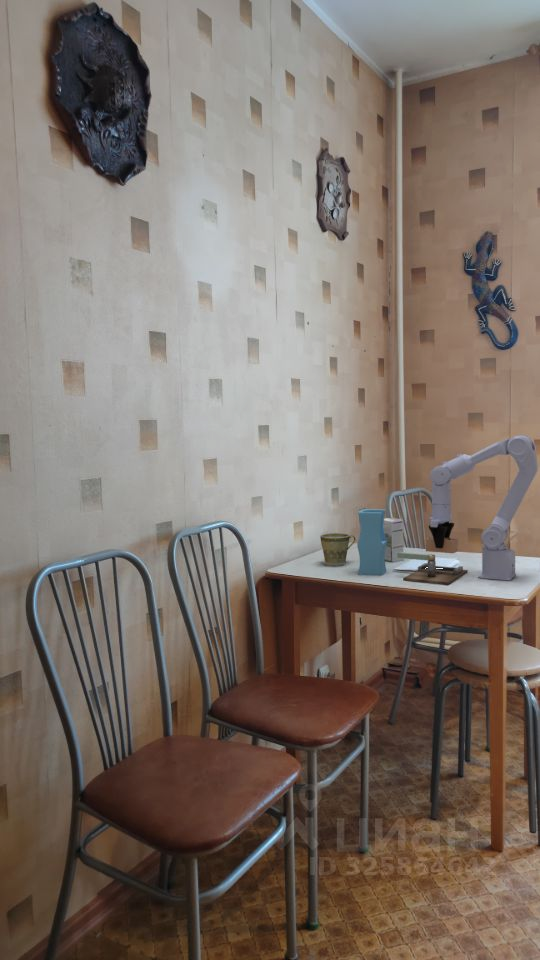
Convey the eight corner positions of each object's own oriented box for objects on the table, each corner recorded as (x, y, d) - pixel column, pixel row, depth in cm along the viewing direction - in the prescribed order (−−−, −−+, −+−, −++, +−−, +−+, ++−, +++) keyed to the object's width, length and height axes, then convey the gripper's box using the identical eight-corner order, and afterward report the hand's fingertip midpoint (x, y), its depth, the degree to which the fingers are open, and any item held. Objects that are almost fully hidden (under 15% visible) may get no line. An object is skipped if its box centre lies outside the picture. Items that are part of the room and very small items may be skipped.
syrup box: (404, 560, 247) (403, 518, 245) (391, 562, 243) (391, 520, 242) (392, 557, 251) (392, 517, 250) (380, 560, 248) (379, 518, 247)
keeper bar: (436, 560, 217) (436, 554, 217) (433, 561, 215) (433, 556, 215) (399, 556, 223) (399, 551, 223) (396, 558, 221) (396, 553, 221)
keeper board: (467, 572, 225) (467, 555, 224) (448, 585, 209) (448, 566, 208) (425, 568, 232) (425, 551, 232) (403, 580, 216) (403, 562, 216)
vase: (382, 575, 223) (381, 512, 222) (357, 574, 226) (356, 512, 225) (387, 570, 231) (386, 509, 229) (363, 569, 234) (362, 509, 232)
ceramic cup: (329, 568, 237) (329, 538, 236) (315, 563, 246) (315, 534, 245) (363, 564, 242) (362, 535, 241) (348, 559, 251) (347, 531, 250)
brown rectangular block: (457, 551, 224) (457, 538, 223) (453, 553, 220) (453, 540, 220) (430, 549, 228) (430, 536, 228) (425, 551, 225) (425, 538, 225)
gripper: (437, 500, 231) (437, 542, 232) (420, 506, 219) (421, 549, 220) (458, 501, 227) (458, 543, 229) (443, 507, 215) (443, 551, 217)
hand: (441, 546), depth 224 cm, fingers closed on brown rectangular block, 4 cm apart
